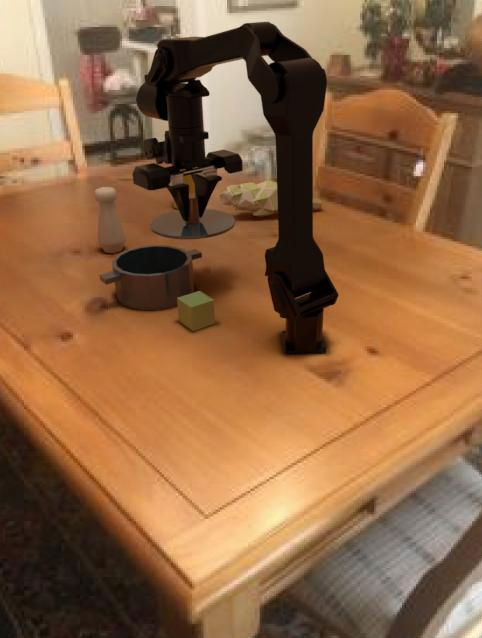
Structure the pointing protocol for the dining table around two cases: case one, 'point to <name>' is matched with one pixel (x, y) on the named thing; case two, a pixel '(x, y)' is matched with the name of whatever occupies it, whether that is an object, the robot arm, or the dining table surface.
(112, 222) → the salt shaker
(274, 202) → the decorative object
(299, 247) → the robot arm
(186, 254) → the pot
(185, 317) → the block
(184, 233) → the lid
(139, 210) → the dining table surface
